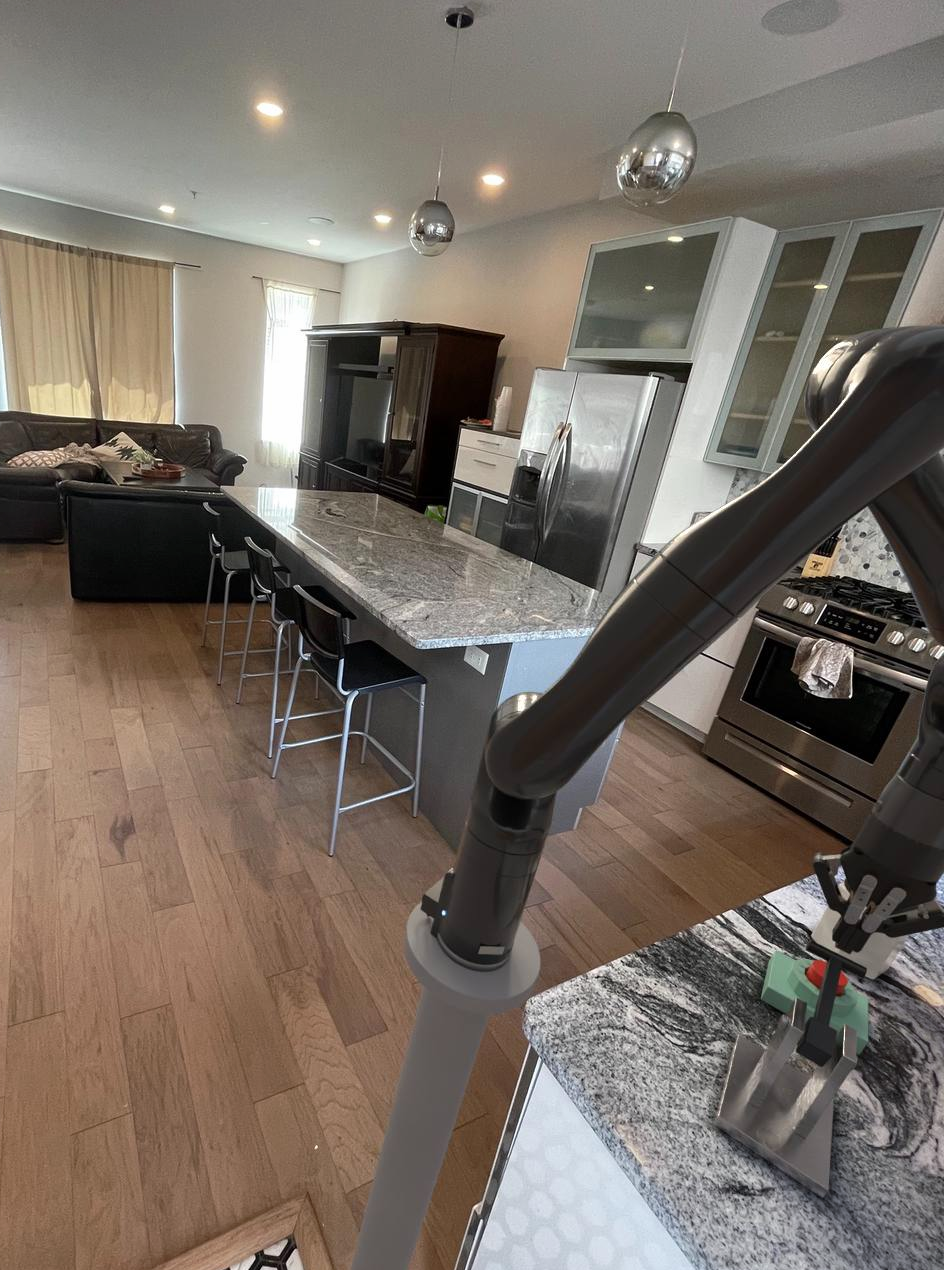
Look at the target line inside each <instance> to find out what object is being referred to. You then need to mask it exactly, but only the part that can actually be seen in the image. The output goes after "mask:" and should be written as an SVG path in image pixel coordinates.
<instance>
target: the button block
mask: <svg viewBox="0 0 944 1270" xmlns="http://www.w3.org/2000/svg"><path fill="white" fill-rule="evenodd" d="M813 961H815V960H813V959H808V958H805V957H804V958H800V959H794V958H793V957H791V956H788V955H786V954H784V953H783V952H780V951H778V950H777V949H775V950H774V951H773V953H772V955H771V957H770V959H769V961H768V964H767V968H766V971H765V977H764V981H763V985H762V990H761V991H762V992H761V996H760V1001H762V1002H764V1003H766V1004H768V1005H769V1006H771V1007H773V1008H774V1009H777V1010H778V1011H780V1012H782V1013H783V1014H784V1015H786V1014H787V1012H788V1010H789V1008H790V1007H791V1005H792V1003H793V1001H794V1000H795V998H796V997H797V998H799V999H800V1000H802V1001H804V1002H806V1003H807V1012H806V1020H805V1023H806V1021H807V1020H808V1019H809V1018H810V1017H814V1012H815V1008H816V1004H817V1000H818V996H819V992H820V990H819V989H818V988H817V987H815V986H814V985H813V984H812V983H811V982H810V981H809V980H808V978H807V975H806V974H807V971H808V970H809V968H810V966H811V964H812V963H813ZM844 1024H846V1025H848V1026H850V1027H852V1028H853V1029H855V1030H857V1045H856V1055H857V1056H860V1055H861V1054H862V1052H863V1050H864V1049H865V1048H866V1046H867V1044H868V1043H869V997H868V996H865V995H864V994H862V993H860V992H858V991H856V990H855V988H854V987H853V985H852V984H851V982H850V981H849V980H848V983H847V985H846V987H845V988H844V990H843V992H842V993H841V995H839V996H835V1001H834V1005H833V1010H832V1014H831V1019H830V1023H829V1027H831V1028H833V1029H835V1030H837V1035H838V1033H839V1032H840V1030H841V1029H842V1027H843V1026H844Z"/></svg>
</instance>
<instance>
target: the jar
mask: <svg viewBox="0 0 944 1270" xmlns="http://www.w3.org/2000/svg"><path fill="white" fill-rule="evenodd" d="M838 887H839V890H840V892H841V895H842V897H843V898H844V899H845V900H848V898H849V895H850V892H851V889H850V888H849V886H848V883H847V880H846V878H844V880H843V882H841V883H840V884H838ZM870 903H871V901H869V900H868V902H867V904H866V906H865V908H864V910H863V911H862V913H863V912H864V911H865V909H866V908H867V907H868V906H869V904H870ZM919 905H921V904H919ZM919 905H915V906H911V907H908V908H904V909H900V910H893V912H892V913H891V914H890V915H889V916H891V915H895V914H899V913H904V912H908V911H913V910H917V909H918V906H919ZM862 913H861V915H860V917H859V919H861V917H862ZM840 916H841V915H840V914H839V913H838V912H837V911H833V910H831V909H830V908H829V907H828V905H827V906H826V907H825V910H824V911H823V913H822V915H821V917H820V918H819V921H818V923H817V924H816V926H815V927H814V929H813V931H812V933H811V935H810V937H811V939H812V941H814V942H816V943H818V944H820V945H822V946H824V947H826V948H828V949H830V950H832V951H834V952H836V953H838V954H840V955H842V956H844V957H846V958H848V959H850V960H852V961H854V962H856V963H858V964H860V965H862V966H864V967H866V968H867V972H866V975H865V977H864V978H867V979H870V980H875V979H876V978H878V977H880V976H881V975H882V974H884V973H885V972H886V971H887V970H889V969H890V967H891V965H892V964H893V963H894V961H895V959H896V958H897V956H898V954H899V953H900V951H901V950H902V948H903V946H904V945H905V944H906V942H907V940H908V939H909V938H910V936H911V934H910V935H905V936H901V937H896V938H890V937H888V936H886V935H885V934H883V933H873V934H871V936H870V937H869V939H868V941H867V942H866V944H865V945H864V947H863V949H862V950H861V951H860V952H858V953H856V952H854V951H852V953H851V954H848V953H846V952H844V951H842V950H840V949H838V948H836V947H835V942H834V941H832V931H833V928H834V927H835V925H836V923H837V921H838V920H839V918H840Z"/></svg>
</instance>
